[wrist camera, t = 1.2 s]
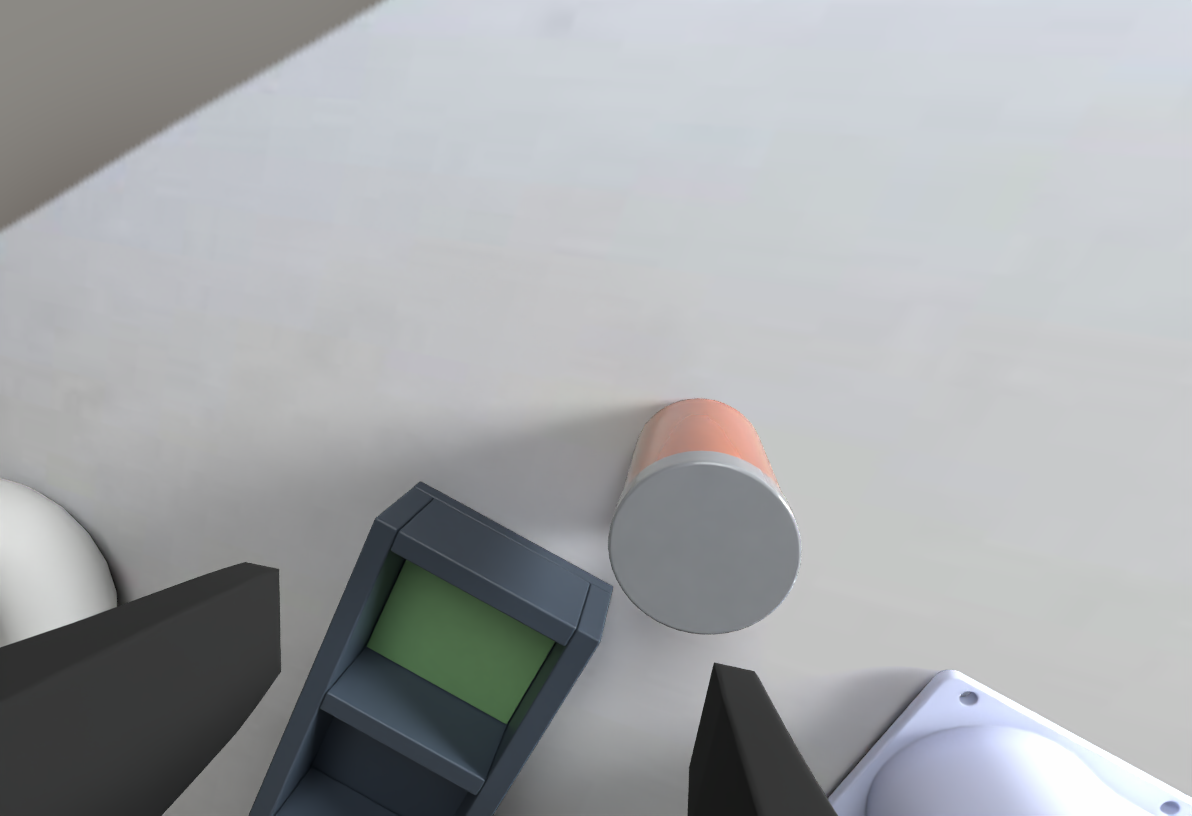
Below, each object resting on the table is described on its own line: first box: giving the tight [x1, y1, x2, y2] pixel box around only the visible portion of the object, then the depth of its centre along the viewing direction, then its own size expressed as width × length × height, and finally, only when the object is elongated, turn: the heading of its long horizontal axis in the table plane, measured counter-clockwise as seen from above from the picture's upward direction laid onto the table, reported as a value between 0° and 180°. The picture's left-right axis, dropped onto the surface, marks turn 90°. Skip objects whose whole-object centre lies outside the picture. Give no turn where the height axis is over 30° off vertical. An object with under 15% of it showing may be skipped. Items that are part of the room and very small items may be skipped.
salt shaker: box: [608, 399, 802, 634], centre depth 15 cm, size 4×4×6 cm
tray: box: [249, 482, 613, 816], centre depth 21 cm, size 8×21×3 cm, turn 153°
